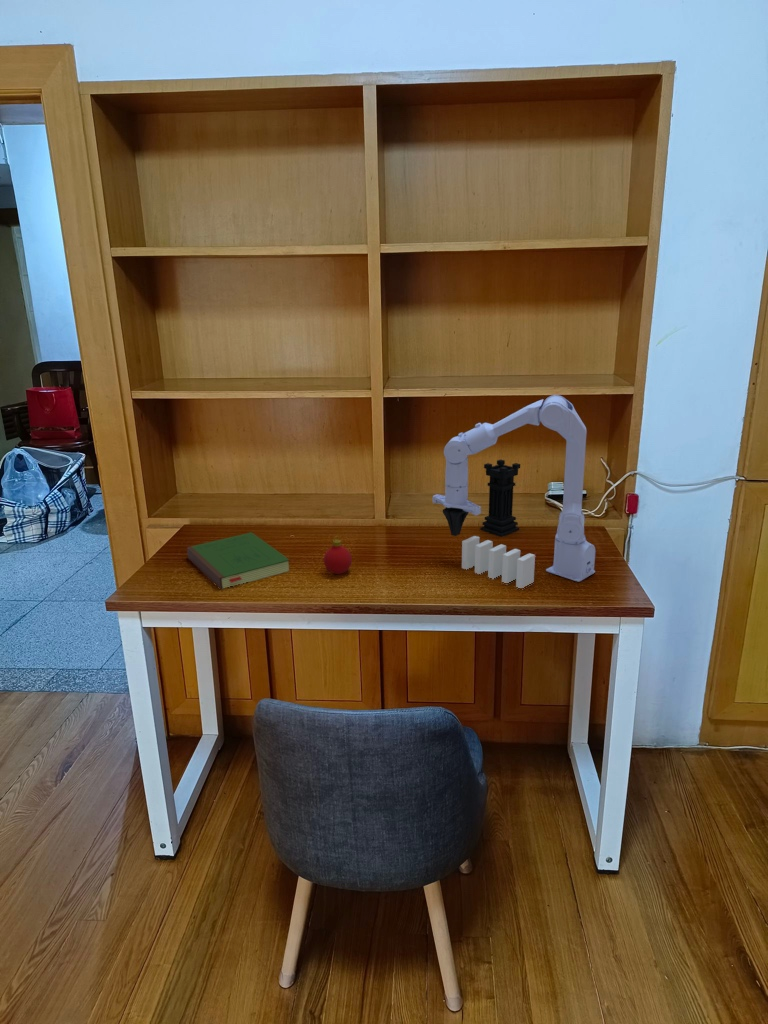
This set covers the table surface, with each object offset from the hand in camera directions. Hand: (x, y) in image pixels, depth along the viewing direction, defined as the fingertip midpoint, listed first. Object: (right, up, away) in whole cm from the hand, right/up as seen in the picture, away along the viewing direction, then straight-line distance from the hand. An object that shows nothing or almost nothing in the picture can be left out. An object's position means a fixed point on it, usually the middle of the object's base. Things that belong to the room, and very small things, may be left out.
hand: (455, 534), depth 177 cm
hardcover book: (-57, -9, +3) cm, 58 cm away
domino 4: (+12, -11, -10) cm, 19 cm away
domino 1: (+4, -8, -1) cm, 9 cm away
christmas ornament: (-30, -10, -3) cm, 32 cm away
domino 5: (+15, -12, -12) cm, 23 cm away
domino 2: (+7, -9, -4) cm, 12 cm away
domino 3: (+10, -10, -7) cm, 15 cm away
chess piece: (+15, 0, +23) cm, 28 cm away
